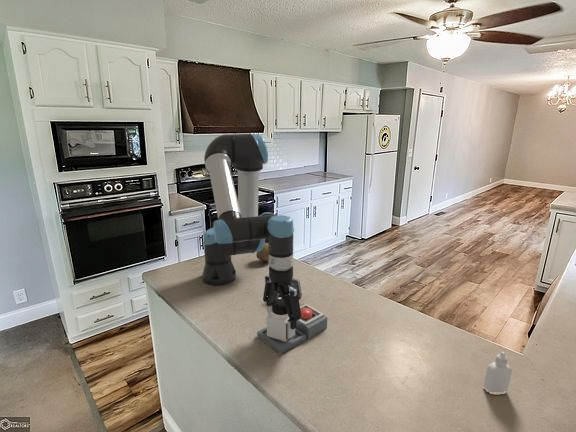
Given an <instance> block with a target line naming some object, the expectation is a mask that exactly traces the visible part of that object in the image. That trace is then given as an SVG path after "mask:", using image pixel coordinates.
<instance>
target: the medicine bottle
mask: <svg viewBox="0 0 576 432" xmlns="http://www.w3.org/2000/svg"><path fill="white" fill-rule="evenodd" d="M292 316H293V315H292ZM287 319H289V317H288V313H287V310H286V307H285V303H284V300H283V299H282V298H281V297H276V299H274V300H273V301H272V312H271V313H270V314H269V315H268V314H267V316H266V327H267V336H269V337H272V338H275V339H278V340H281V341H285V342H287V341H288V339H289V338H287Z"/></svg>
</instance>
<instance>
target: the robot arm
mask: <svg viewBox="0 0 576 432" xmlns="http://www.w3.org/2000/svg"><path fill="white" fill-rule="evenodd" d="M268 151H269V150H268V146H267V143H266V140H265V138H264V137H263V135H261V134H258V133H257V134H256V133H254V134H253V133H242V134H241V133H240V134H239V133H238V134H234V133H233V134H222V135H219V136H217V137H215V138H214V139H212V141H211V142H210V143H209V144H208V145H207V147H206V150H205V152H204V159H203V160H204V166H205V169H206V170H207V171H208V172H209V178H210V183H211V189H212V193H213V199H214V204H215V209H216V214H217V220H214V221H213V225H212V227H211V228H209V229H207V230H206V231H205V232H204V233H203V241H202V243H203V249H204V266H203V271H202V274H201V275H202V277H201V278H202V279H201V280H202V282H203V283H204V284H207V285H210V286H222V285H227V284H230V283H231V282H234V281H235V280H236V278H237V271H236V268H235V266H234V264H233V261H232V256H238V255H244V254H245V255H246V254H254V253H257V252H259V251H261V250H262V249H263V247H264V243H266V241H265V240H267V243H268V245H269V261H268V265H269V267H268V275H265V276H264V282H265V283H264V289H263V297H262V301H263V302H265V303H266V306H267V316H268V315H269V314H270V313H271V312H272V301H273V300H274V299H276V298H278V295H279V296H280V298H282V299H283V300H284V303H285V307H286V310H287V313H288V317H289V319H287V338H291V337H293V336H294V335H295V328H296V321H298V320H300V319H301V318H302V317H301V310H300V305H301V304H300V299H299V298H300V297H298V294H299V290H298V288H296V289H294V288H293V287H292V285H291V280H292V278H294V232H295V228H294V221H293V218H292V217H290V216H287V215H282V214H281V215H280V214H279V215H276V214H274V213H273V212H270V211H268V212H267V211H266V212H263V213H261V214H259V188H260V187H259V186H260V185H259V184H260V183H259V182H260V172H262V170H263V167H264V165H265V164H267V163H268V161H269V153H268ZM232 165H233V166H234V167H233V169H235V170H236V171H237V191H236V188H235V183H234V179H233V175H232V172H231V171H232V170H231V166H232ZM286 294H288V295H286ZM284 295H286V296H284ZM292 315H293V316H292Z"/></svg>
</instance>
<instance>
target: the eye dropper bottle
mask: <svg viewBox="0 0 576 432" xmlns="http://www.w3.org/2000/svg"><path fill="white" fill-rule="evenodd" d="M508 361H509V360H508V357H507V356H506V352H505V351H501V352H500V353H499V354H496V357H495V361H493V362H491V363H489V364H488V365H487V367H486V371H485V372H486V373H485V377H484V382H483V386H484V387H485V388H486V389H487V390H488V391H490V392H504V391H507V390H509V386H510V382H511V378H512V372H513V370H512V367H511V366H510V365H509V364H508ZM507 392H508V391H507Z"/></svg>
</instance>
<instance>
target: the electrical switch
mask: <svg viewBox="0 0 576 432" xmlns="http://www.w3.org/2000/svg"><path fill="white" fill-rule="evenodd" d="M300 281H301V280H300V279H298V278H296V277H293V278H292V280H291V285H292V287H293V288H294V289H296V288H298V290H299V294H298V297H299V298H302V296H303V293H302V285H301V282H300ZM286 295H288V294H286ZM286 295H284V296H286Z"/></svg>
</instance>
